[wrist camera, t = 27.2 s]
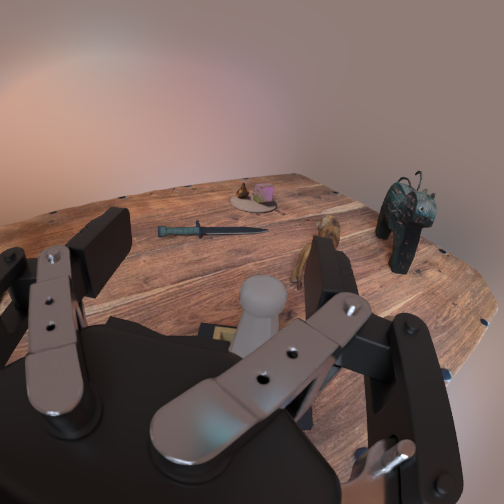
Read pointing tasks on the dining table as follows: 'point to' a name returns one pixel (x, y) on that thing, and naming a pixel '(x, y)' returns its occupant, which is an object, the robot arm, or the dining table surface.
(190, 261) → the dining table surface
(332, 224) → the lion figurine
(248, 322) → the salt shaker
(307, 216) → the dining table surface
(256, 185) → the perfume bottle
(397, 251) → the ceramic cat
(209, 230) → the knife
